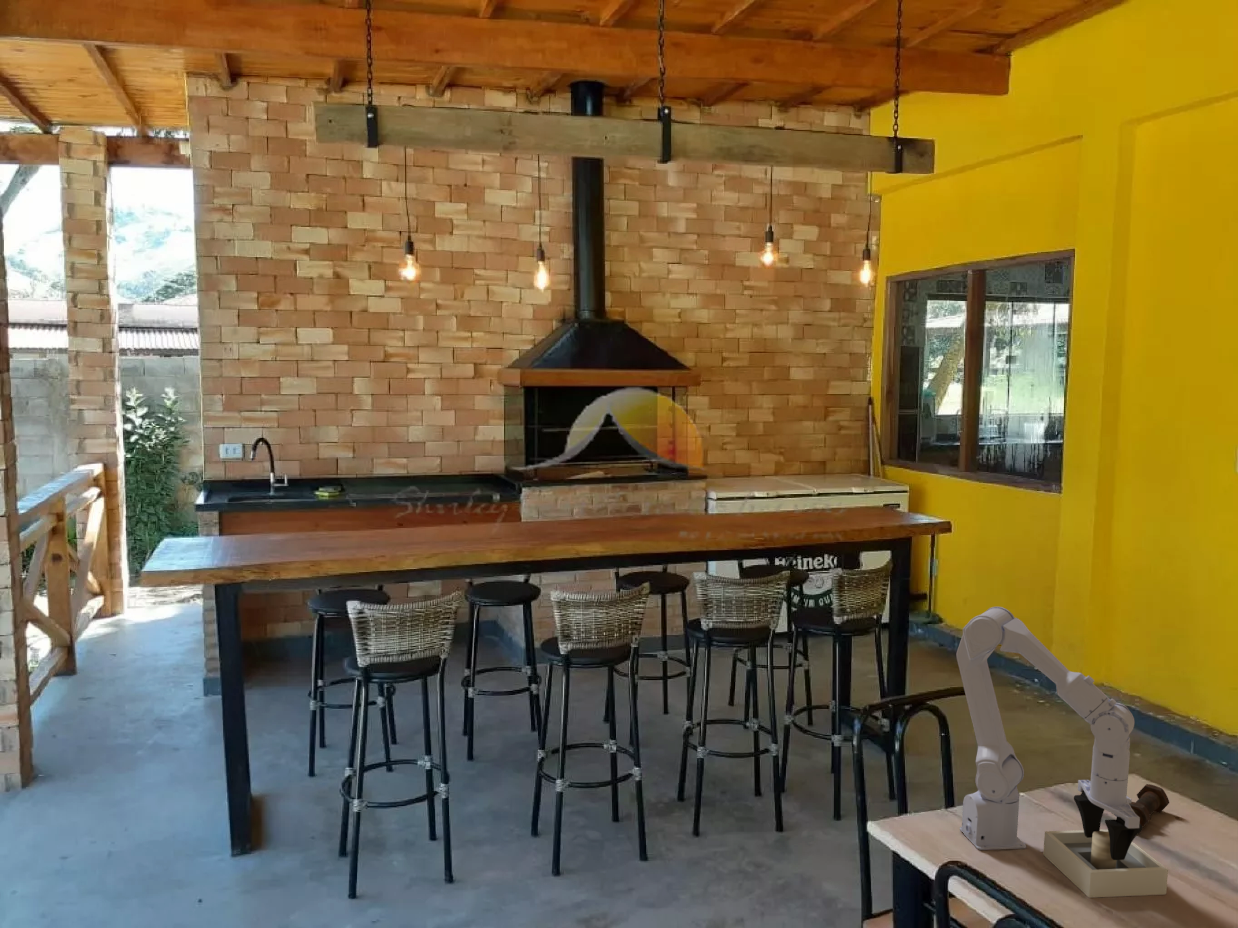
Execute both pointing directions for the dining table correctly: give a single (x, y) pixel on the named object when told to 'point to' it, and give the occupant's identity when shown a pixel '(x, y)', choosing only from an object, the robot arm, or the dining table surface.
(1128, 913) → the dining table surface
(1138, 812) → the bolt
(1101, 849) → the peg
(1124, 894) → the box
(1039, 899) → the dining table surface
